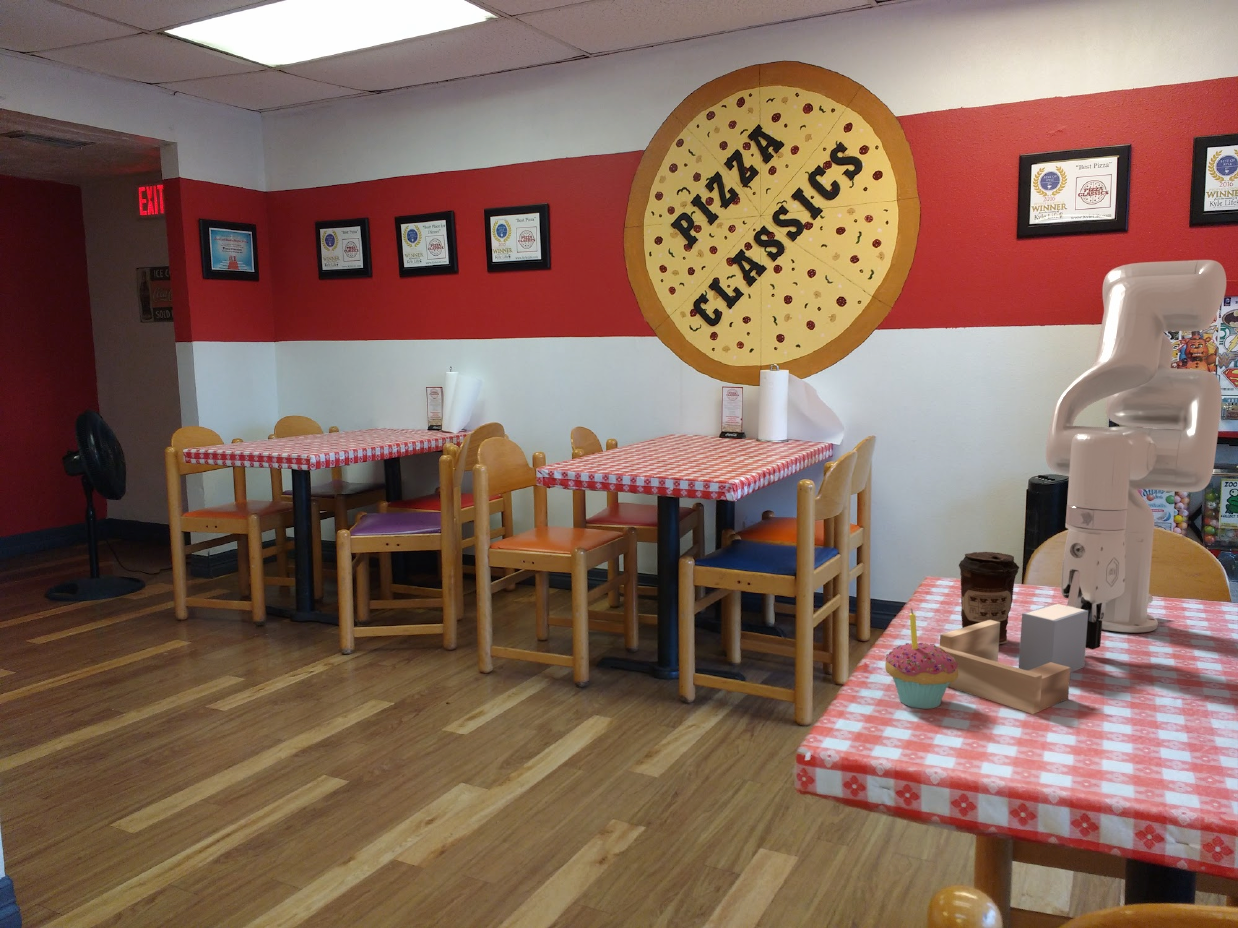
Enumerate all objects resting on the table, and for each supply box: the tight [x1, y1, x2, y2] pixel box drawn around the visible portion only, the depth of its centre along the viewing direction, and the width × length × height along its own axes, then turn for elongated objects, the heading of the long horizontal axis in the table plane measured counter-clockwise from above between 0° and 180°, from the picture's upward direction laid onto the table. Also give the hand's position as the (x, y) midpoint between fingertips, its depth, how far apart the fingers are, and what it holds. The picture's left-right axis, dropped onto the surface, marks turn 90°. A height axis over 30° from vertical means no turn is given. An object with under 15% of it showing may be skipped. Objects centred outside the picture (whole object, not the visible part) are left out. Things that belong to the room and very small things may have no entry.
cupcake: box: [884, 607, 958, 710], centre depth 112 cm, size 9×8×12 cm
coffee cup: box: [958, 551, 1020, 645], centre depth 137 cm, size 9×8×13 cm
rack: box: [937, 620, 1071, 715], centre depth 118 cm, size 14×14×6 cm
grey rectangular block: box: [1018, 603, 1088, 673], centre depth 125 cm, size 9×4×8 cm, turn 127°
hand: (1086, 645), depth 131 cm, fingers closed
